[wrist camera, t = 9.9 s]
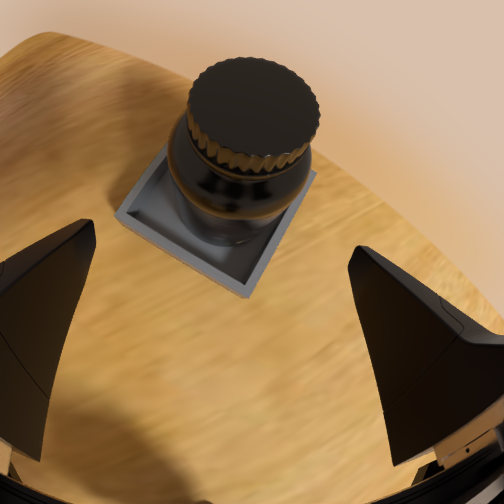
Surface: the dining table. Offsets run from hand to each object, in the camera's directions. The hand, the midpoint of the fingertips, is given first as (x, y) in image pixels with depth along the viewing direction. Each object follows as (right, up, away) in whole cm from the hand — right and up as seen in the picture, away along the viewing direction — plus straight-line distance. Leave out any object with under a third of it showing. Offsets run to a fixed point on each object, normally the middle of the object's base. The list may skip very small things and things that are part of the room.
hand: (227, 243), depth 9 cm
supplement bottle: (-1, +3, +12) cm, 12 cm away
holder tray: (-2, +3, +12) cm, 12 cm away
